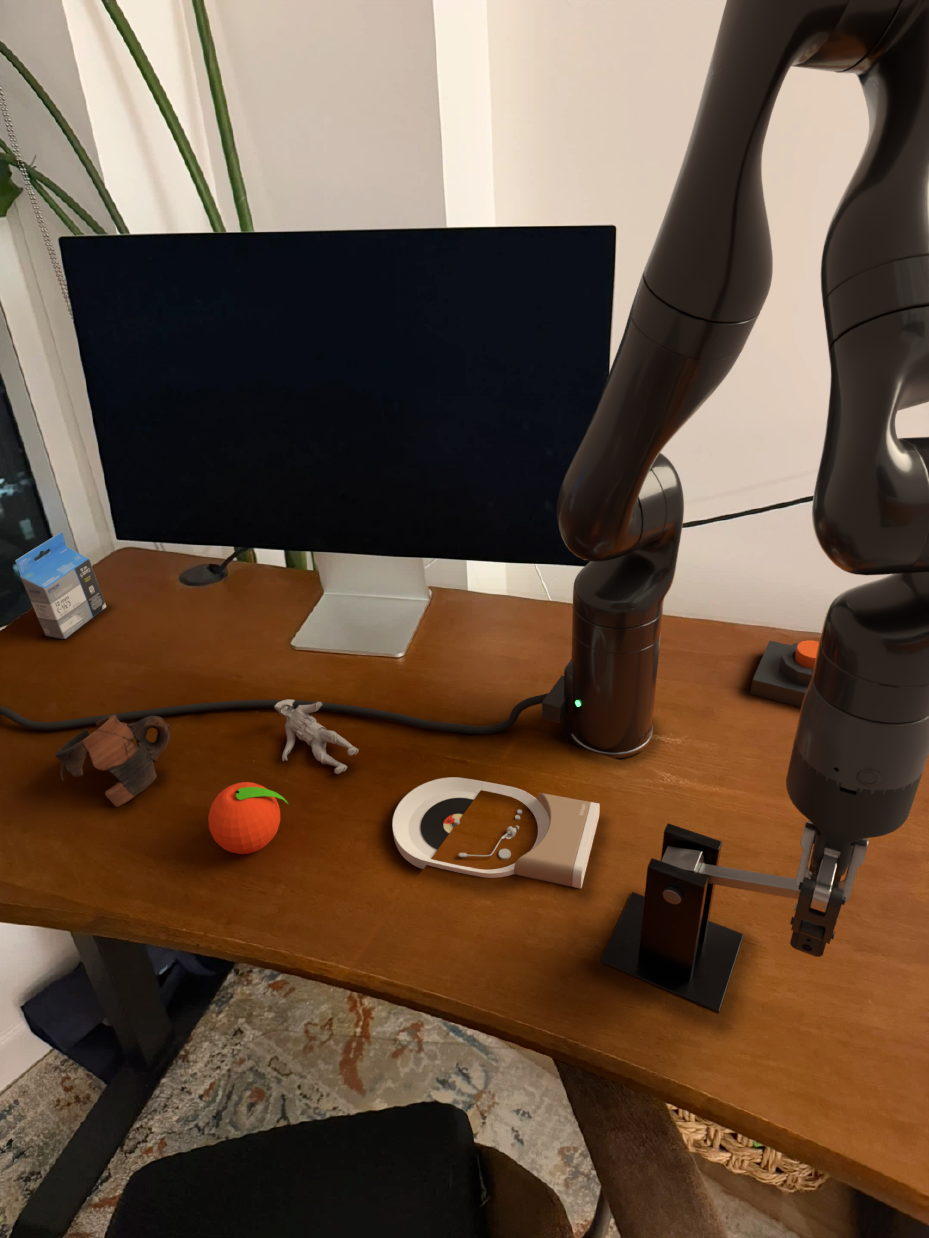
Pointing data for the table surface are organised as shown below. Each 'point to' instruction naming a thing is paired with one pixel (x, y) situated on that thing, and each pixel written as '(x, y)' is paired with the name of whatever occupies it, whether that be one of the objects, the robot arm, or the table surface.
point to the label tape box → (60, 587)
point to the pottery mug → (118, 754)
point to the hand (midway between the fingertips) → (813, 918)
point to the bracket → (676, 929)
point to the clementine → (244, 817)
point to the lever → (731, 874)
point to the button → (806, 653)
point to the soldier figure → (311, 733)
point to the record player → (551, 858)
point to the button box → (781, 675)
